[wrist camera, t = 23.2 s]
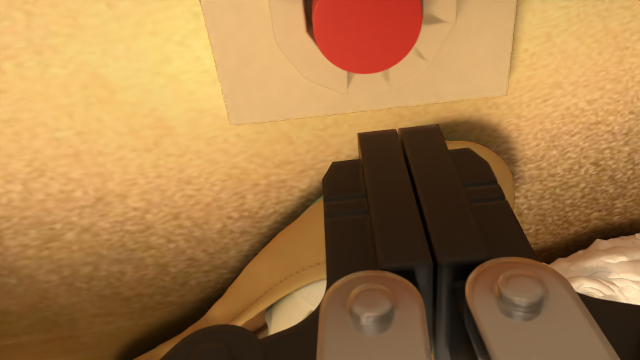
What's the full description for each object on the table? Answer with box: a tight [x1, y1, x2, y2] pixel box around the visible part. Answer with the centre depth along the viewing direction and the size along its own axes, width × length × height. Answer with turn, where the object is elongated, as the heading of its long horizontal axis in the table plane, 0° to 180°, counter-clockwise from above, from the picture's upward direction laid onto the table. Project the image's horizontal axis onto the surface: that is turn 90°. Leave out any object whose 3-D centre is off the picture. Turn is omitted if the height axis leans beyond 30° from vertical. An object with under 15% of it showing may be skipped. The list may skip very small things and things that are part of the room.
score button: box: [312, 0, 423, 74], centre depth 18 cm, size 4×4×2 cm
